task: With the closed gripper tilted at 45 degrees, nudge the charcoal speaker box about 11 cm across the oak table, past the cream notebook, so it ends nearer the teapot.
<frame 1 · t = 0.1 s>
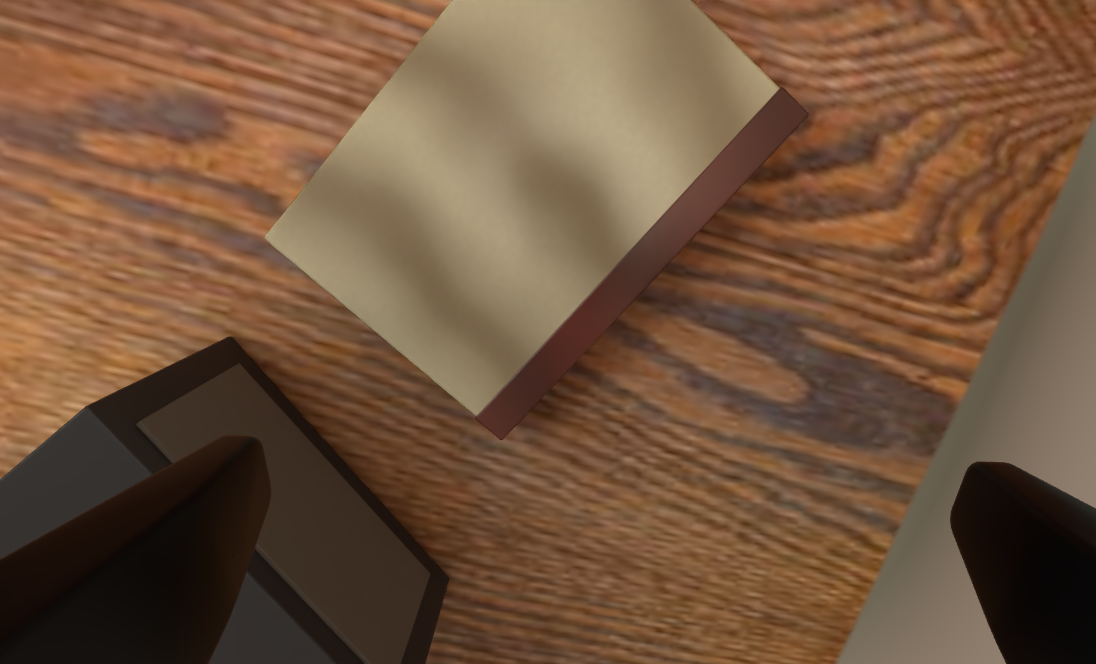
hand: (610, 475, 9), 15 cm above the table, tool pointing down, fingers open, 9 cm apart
notebook: (528, 177, 23), on the table
speaker: (265, 522, 26), on the table
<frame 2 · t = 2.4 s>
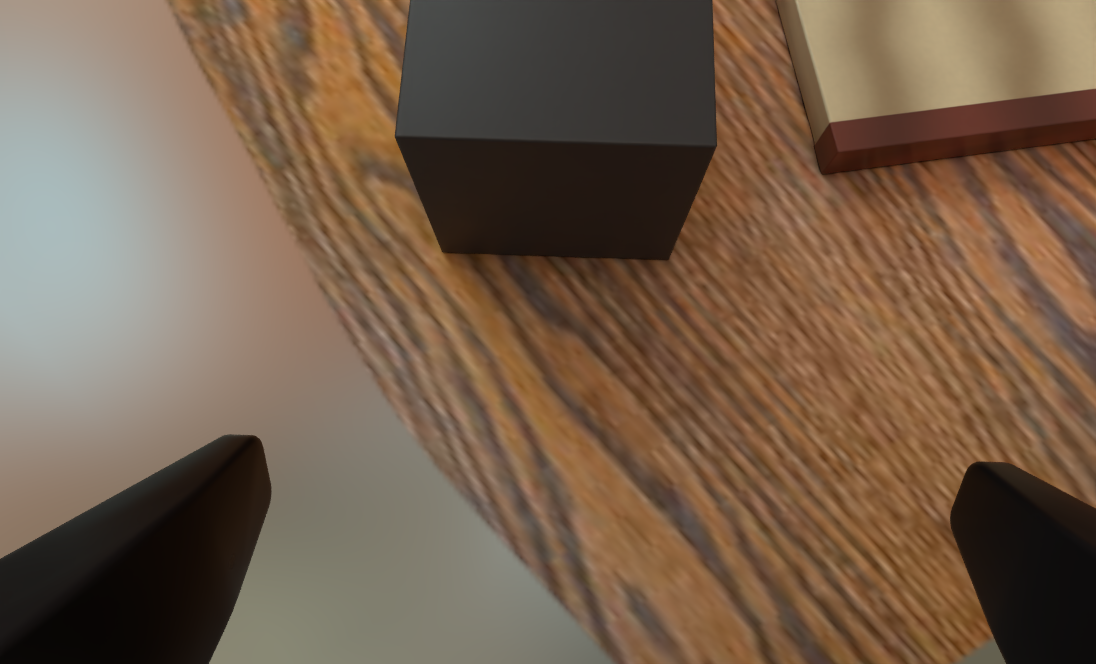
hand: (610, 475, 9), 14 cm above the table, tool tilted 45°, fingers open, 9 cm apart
notebook: (968, 33, 26), on the table
speaker: (560, 107, 26), on the table
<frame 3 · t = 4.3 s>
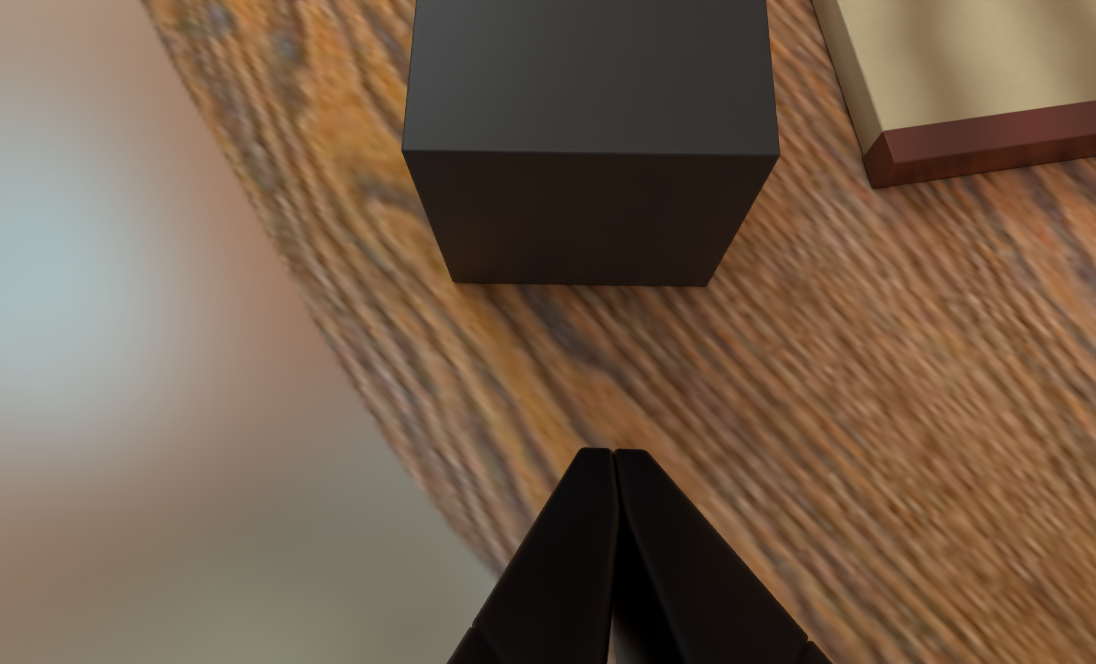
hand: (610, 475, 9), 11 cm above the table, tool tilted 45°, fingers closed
notebook: (1024, 33, 24), on the table
speaker: (580, 120, 23), on the table
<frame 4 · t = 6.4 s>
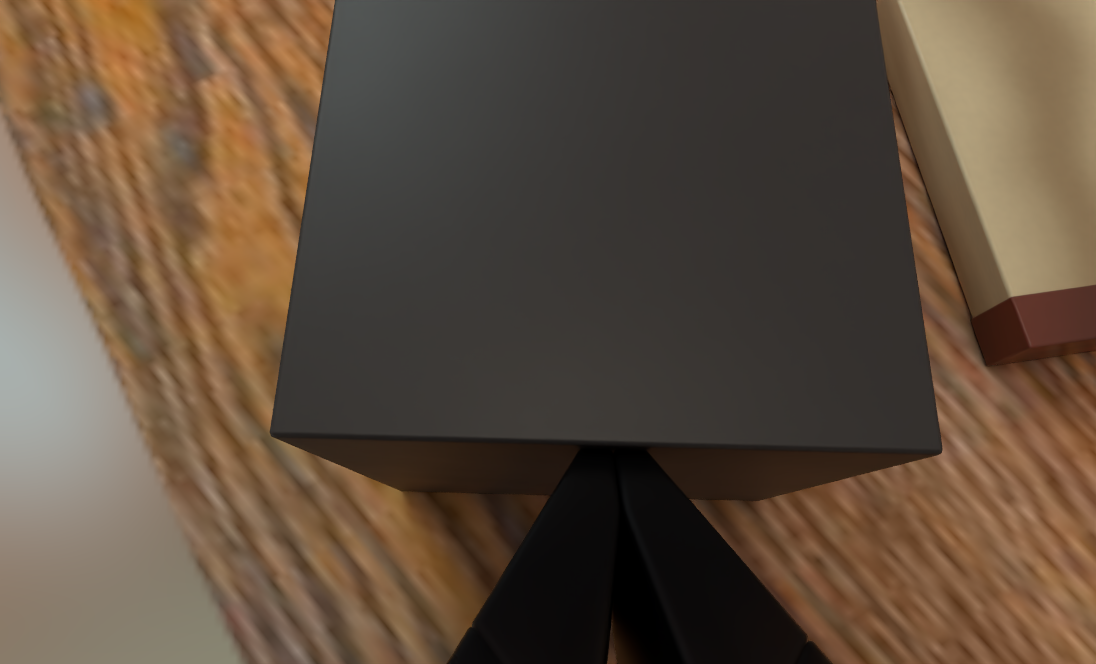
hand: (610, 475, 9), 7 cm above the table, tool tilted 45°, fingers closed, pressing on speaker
speaker: (582, 248, 17), on the table, touching gripper
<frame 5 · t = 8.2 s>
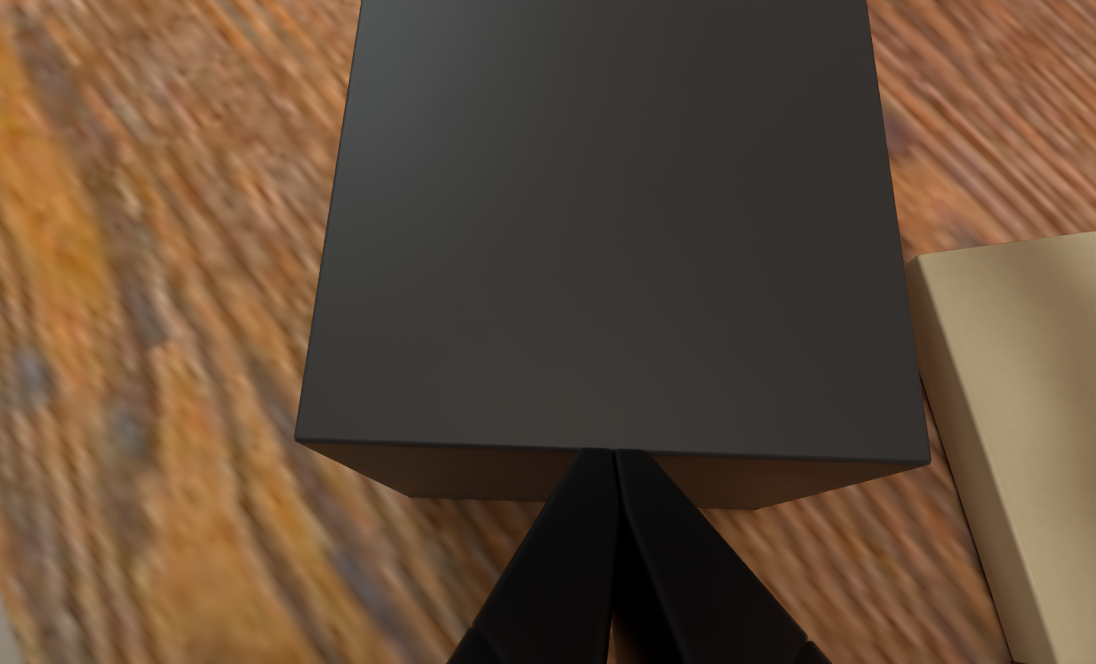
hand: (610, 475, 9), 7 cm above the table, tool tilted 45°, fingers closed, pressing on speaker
speaker: (586, 262, 18), on the table, touching gripper
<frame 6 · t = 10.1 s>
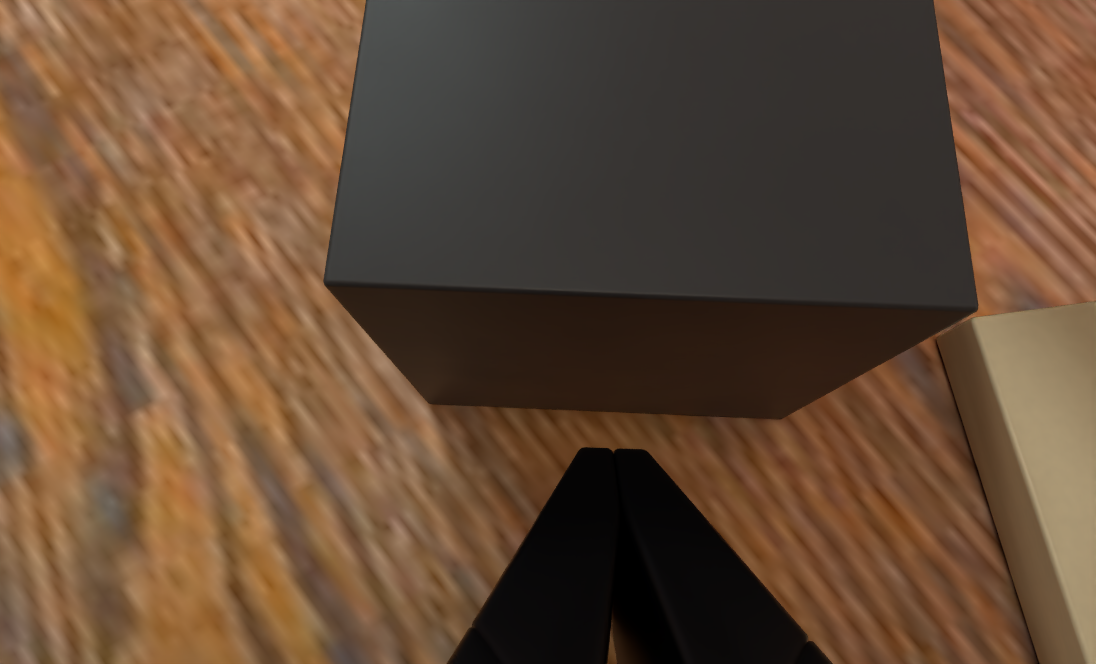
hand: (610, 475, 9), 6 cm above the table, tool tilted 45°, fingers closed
speaker: (609, 175, 17), on the table
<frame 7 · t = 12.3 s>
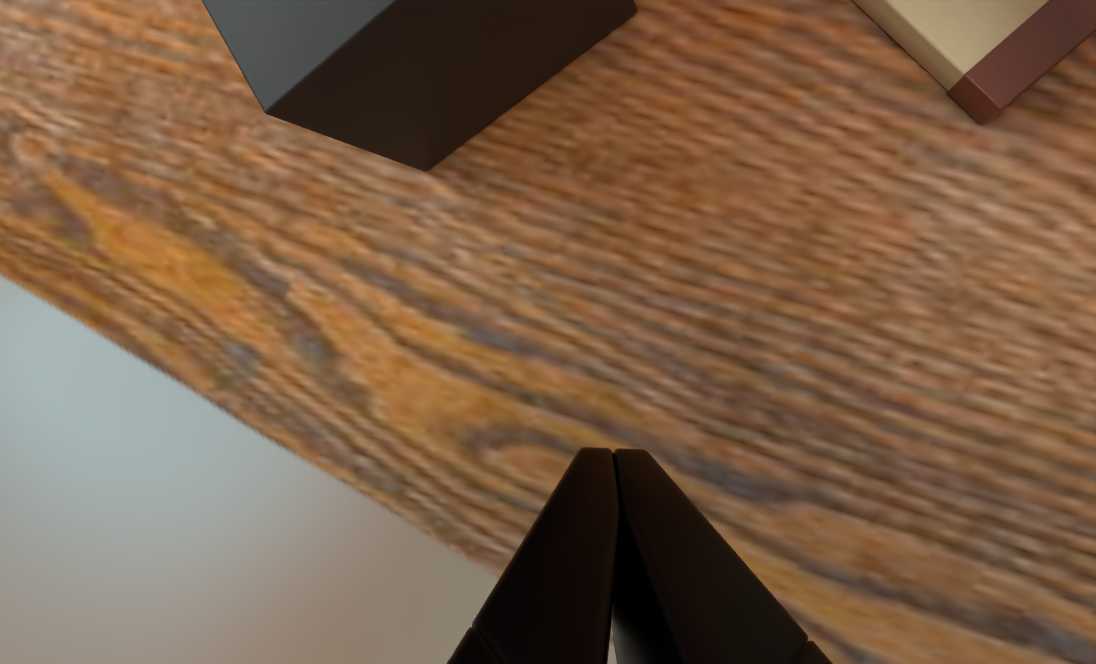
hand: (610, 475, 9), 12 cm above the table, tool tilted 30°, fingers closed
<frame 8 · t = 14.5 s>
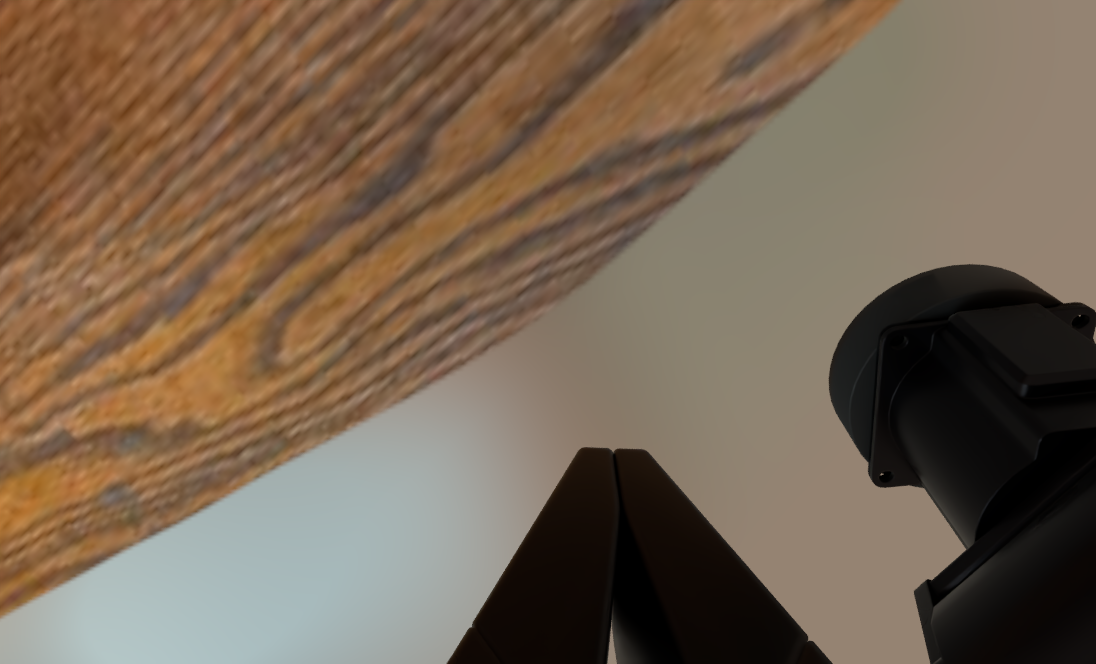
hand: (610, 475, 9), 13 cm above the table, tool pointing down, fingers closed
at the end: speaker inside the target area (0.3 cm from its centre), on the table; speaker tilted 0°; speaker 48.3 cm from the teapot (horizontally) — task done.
